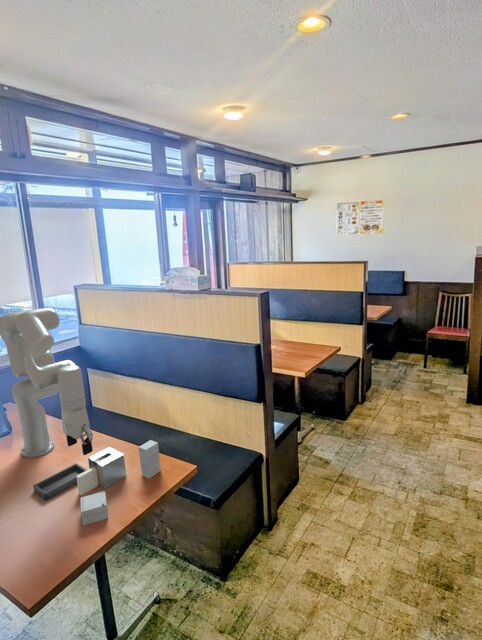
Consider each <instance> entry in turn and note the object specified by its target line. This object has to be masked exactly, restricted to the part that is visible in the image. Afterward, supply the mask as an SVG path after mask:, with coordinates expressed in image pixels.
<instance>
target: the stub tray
mask: <svg viewBox="0 0 482 640" xmlns="http://www.w3.org/2000/svg"><path fill="white" fill-rule="evenodd" d="M87 470H88V469H86V468H85V467H83V466H82V465H80V464H78V463H74V464H71V465H70V466H68V467H66V468H64V469H62V470H60V471H58V472H57V473H54V474H52V475H50V476H49V477H47V478H44V479H43V480H41V481H38V482H37V483H35V484H33V492H34V493H36V494H37V495H38V496H39V497H41V499H43V500H44V501H48V500H50V499H52V498H53V497H55V496H57V495H59V494H60V493H62V492H64V491H66V490H68V489H70V488H71V487H73V486H76V485H77V478H76V476H77V475H79V474H81V473H83V472H85V471H87Z"/></svg>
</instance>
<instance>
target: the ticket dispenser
mask: <svg viewBox="0 0 482 640" xmlns="http://www.w3.org/2000/svg"><path fill="white" fill-rule="evenodd" d="M87 461H88V467H89V468H88V469H90V468H92V467H94V466H96V465H97V468H98V475H99V483H100V485H99V486H100V487H101V488H103V489H107V488H108V487H110V486H112V485H114V484H115V483H117V482H119V481H120V480H122V479H124V478H125V477H127V471H126V470H127V469H126V461H125V454H124V453H122V452H120V451H119V450H116V449H115V448H112V447H110V446H108V447H106V448H105V449H103V450H101V451H98V452H96V453H95V454H93V455H91V456H89V457H88V458H87Z"/></svg>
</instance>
